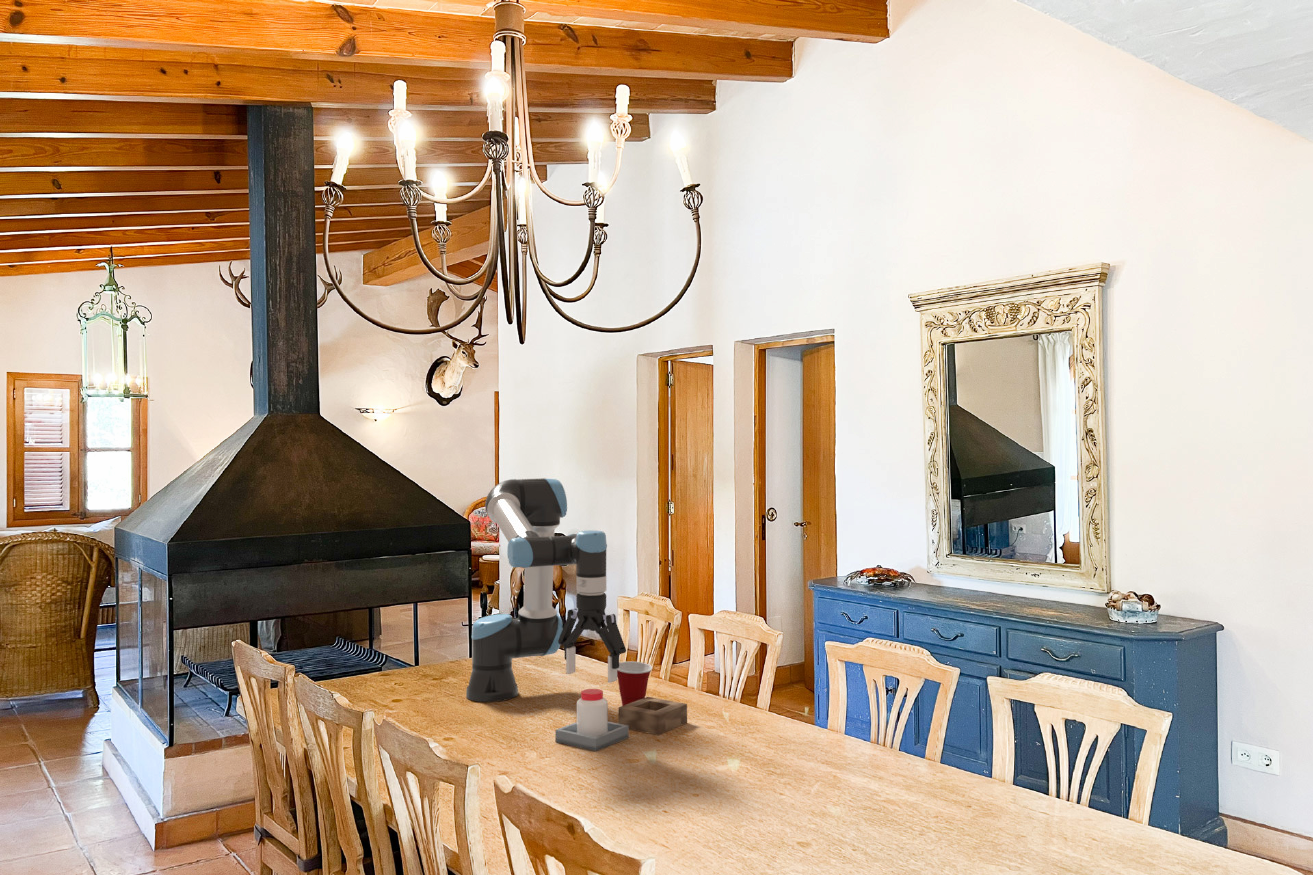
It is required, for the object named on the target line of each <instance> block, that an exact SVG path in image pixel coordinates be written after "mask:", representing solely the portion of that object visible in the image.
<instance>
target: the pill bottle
mask: <svg viewBox="0 0 1313 875" xmlns="http://www.w3.org/2000/svg"><path fill="white" fill-rule="evenodd" d="M608 711H609V709H608V700H607V699H606V698H605V697H604V690H602V689H600V688H599V689H598V688H587V689H583V690H581V692H580V698H579V699H578V700H577V701H576V722H577V733H579V734H583V735H588V736H592V737H597V736H599V735H602V734H604V733H607V732H608V722H609V721H608V720H609V718H608V716H609V715H608Z"/></svg>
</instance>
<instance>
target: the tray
mask: <svg viewBox="0 0 1313 875" xmlns="http://www.w3.org/2000/svg"><path fill="white" fill-rule="evenodd" d="M629 732H630V729H629V726H627V725H623V724H618V722H617V723H616V722H612V721H608V732H607V733H604V734H602V735H599V736H597V737H592V736H588V735H583V734H579V733H577V721H576V722H573V723H571V724H567V725H565V726H562V727H559V728H556V729H555V733H554V734H555V735H554V736H555V738H554V739H555V743H558V744H563V745H567V746H571V747H574V748H575V747H576V748H580V749H583V750H588V751H593V752H598V751H600V750H603V749H605V748H608V747H609V746H613V745H615V744H617V743H619V742H622V741H625V740H626V739H629V737H630V736H629Z"/></svg>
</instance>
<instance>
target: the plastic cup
mask: <svg viewBox="0 0 1313 875" xmlns="http://www.w3.org/2000/svg"><path fill="white" fill-rule="evenodd" d="M652 671H653V666H652V665H651V664H649V663H645V662H641V661H633V660H632V661H621V662H620V661H619V668H617V683H618V688H619V696H620V699H621V706H624V705H626V704H629V703H632V702H635V701H637V700H640V699H643V698H646V697H647V696H646V694H647V688H648V683H649V678H650V674H651V672H652Z"/></svg>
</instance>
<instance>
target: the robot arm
mask: <svg viewBox="0 0 1313 875" xmlns="http://www.w3.org/2000/svg"><path fill="white" fill-rule="evenodd" d="M485 498H486V499H485V503H484V507H485V508H484V509H485V512H486V514H487V517H489V520H490V521H492V522H493V523H494V524H497V525H498V528H499V529H500V531H501V532H502V534H503V536H504V537H505V539H506V541H507V542H508V543H507V552H506V553H507V559H508V564H509V566H511V567H512V568H524V577H523V578H524V584H523V606H522V607H521V608H520V609H519V610H518V611H517V612H518V615H517V617H516V618H513V617H512V615H511V614H509V613H501V614H499V613H497V614H492V615H488V616H487V615H486V616H483V617H480V618H478V619H477V620H475V621H474V623H473V624H472V629H471V659H472V660H471V661H472V662H471V667H472V668H471V672H470V673H471V674H470V677H469V681H468V685H467V687H466V691H465V693H466V694H465V695H466V696H465V697H466V699H467V700H470V701H475V702H482V703H483V702H484V703H485V702H486V703H488V702H490V703H491V702H502V701H506V700H510V699H513V698H516V697H517V696H518V695H519V688H518V684H517V682H516V677H515V674H514V672H513V665H512V664H513V663H512V662H513V659H521V658H529V657H544V656H549V655H553V654H556V653H557V652H558V650H560V648H561V645H562V646H563V648H564V660H565V661H566V662H565V667H566V668H565V671H566V672H565V673H566V675H572V674H573V673H576V646H575V642H576V641H577V640H578V639H579V637H580V636H581V635H582V633H583V632H584V631H592V632H595V633H596V634H598V635H599V638H600V639H601V641H602V642H603V644H604V645H605V647H606V649H607V651H608V653H609V655H608V656H607V683H609V684H611V683H614V682H618V677H617V668H619V663H620V655H622V654H625V653H627V648H626V645H625V643H624V641H623V640H624V639H623V637H622V634H621V632H620V630H619V626H618V624H617V615H616V614H615V613H612V614H606V612H605V611H606V607H607V593H605V592H607V548H608V544H607V535H606V532H604V531H601V530H581V531H579V532H577V533H571V534H568V535H557V536H555V531H556V529H557V528H558V526H560V525H561V518H564V517H566V516H567V512H568V501H567V494H566V491H565V488H564V486H563V484H562V482H561V481H560V480H558V479H556V478H547V477H546V478H545V477H544V478H543V477H542V478H525V479H524V478H522V479H521V478H520V479H515V478H514V479H513V478H512V479H508V480H507V479H506V480H504V481H501V482H500V483H498V484H496V485H494V487H493V488H491V489H490V490H489V492H488V494H487V496H486V497H485ZM571 565H572V566H573V565H576V569H575V570H576V572H575V574H576V575H575V576H576V592H577V594H576V596H575V598H576V602H575V603H576V607H575V608H571V609H568V610H567V614H566V615H567V617H566V620H565V623H564V625H563V620H562V617H561V616H560V615H558V613H557V612H558V611H557V610H556V609H555V608H554V606H553V593H554V592H553V589H554V587H553V586H554V583H553V582H554V566H556V567H557V566H571ZM577 619H578V622H577V623H576V621H577ZM573 628H574V629H573Z"/></svg>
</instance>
